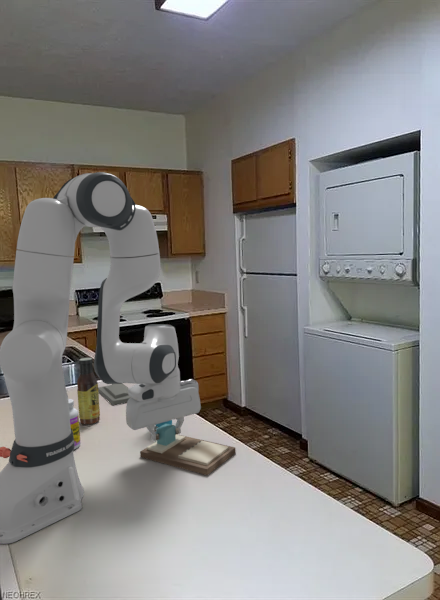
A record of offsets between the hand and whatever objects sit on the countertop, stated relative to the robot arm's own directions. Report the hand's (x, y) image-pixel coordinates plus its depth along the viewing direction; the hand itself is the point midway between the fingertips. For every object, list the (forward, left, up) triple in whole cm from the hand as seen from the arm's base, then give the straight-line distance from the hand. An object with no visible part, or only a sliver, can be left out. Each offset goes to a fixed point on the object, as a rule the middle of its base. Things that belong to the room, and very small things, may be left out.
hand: (166, 436), depth 122 cm
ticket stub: (0, 0, -2) cm, 2 cm away
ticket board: (0, -7, -4) cm, 8 cm away
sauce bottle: (+5, +34, -4) cm, 35 cm away
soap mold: (+28, +45, -4) cm, 53 cm away
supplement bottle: (-11, +25, -4) cm, 28 cm away
